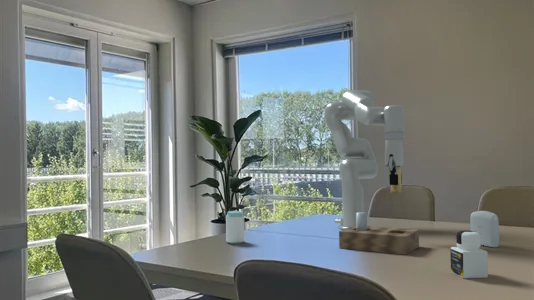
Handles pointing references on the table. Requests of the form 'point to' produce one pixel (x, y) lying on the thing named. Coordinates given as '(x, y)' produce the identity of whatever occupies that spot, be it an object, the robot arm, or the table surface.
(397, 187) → the brass pin
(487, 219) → the photo printer
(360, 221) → the grey pin
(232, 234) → the can
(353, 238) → the bore block
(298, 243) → the table surface
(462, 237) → the medicine bottle
